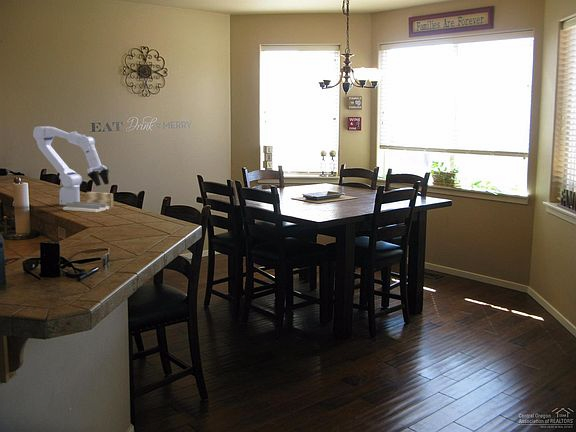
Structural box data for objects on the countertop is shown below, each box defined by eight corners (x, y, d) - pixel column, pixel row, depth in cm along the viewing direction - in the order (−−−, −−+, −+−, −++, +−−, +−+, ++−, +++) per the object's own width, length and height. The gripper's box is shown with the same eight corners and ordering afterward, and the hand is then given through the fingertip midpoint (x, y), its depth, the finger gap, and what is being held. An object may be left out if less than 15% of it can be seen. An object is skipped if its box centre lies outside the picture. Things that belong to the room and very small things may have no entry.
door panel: (86, 205, 306) (86, 192, 305) (89, 205, 308) (88, 191, 307) (111, 207, 303) (110, 193, 302) (113, 207, 305) (113, 193, 304)
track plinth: (63, 209, 290) (62, 203, 290) (77, 206, 302) (77, 200, 301) (95, 212, 286) (95, 206, 286) (109, 208, 297) (109, 202, 297)
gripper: (91, 157, 294) (101, 183, 295) (107, 156, 308) (116, 180, 309) (80, 162, 296) (89, 188, 297) (96, 160, 310) (105, 185, 311)
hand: (102, 184), depth 303 cm, fingers open, 7 cm apart
